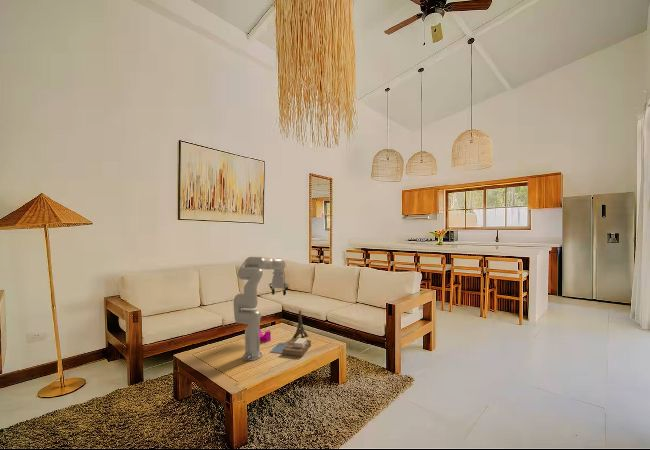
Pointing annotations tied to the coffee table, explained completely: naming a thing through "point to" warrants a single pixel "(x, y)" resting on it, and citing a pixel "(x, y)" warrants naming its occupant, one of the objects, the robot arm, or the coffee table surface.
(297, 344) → the beige rectangular block
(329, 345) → the coffee table surface
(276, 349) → the mat
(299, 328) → the eiffel tower
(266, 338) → the toy block
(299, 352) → the deck
